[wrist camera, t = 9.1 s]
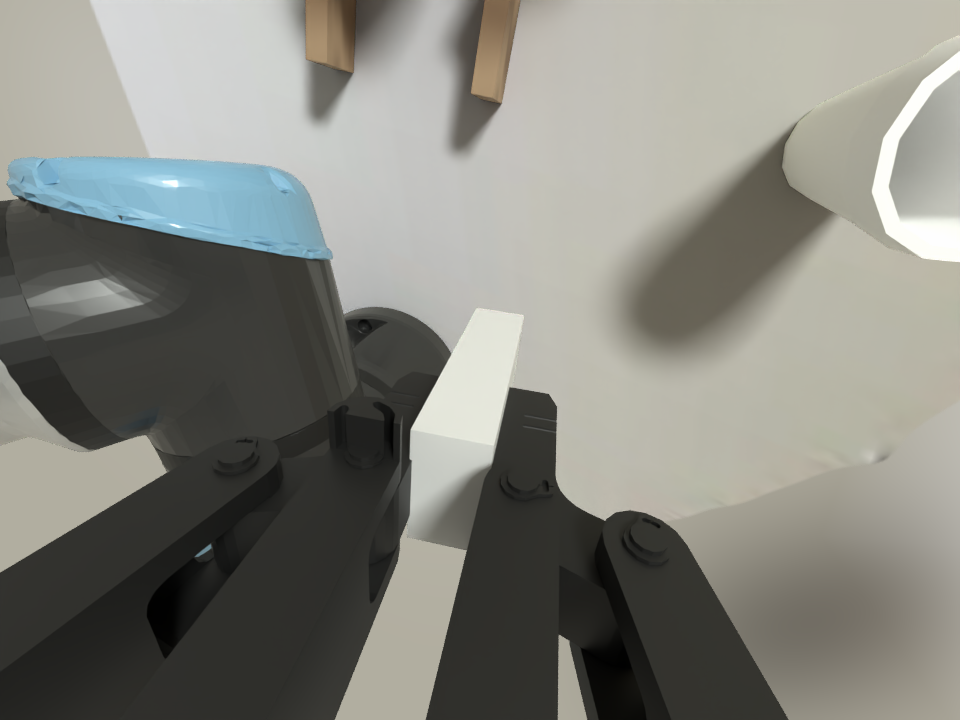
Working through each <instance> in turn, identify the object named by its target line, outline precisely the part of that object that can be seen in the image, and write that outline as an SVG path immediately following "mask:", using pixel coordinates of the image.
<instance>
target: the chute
mask: <svg viewBox="0 0 960 720" xmlns="http://www.w3.org/2000/svg"><path fill="white" fill-rule="evenodd" d="M519 6H520V0H485V2H484V9H483V15H482V22H481V29H480V35H479V42H478V49H477V55H476V62H475V69H474V75H473V82H472V88H471V94H473V95H475V96H476V97H478V98H480V99H482V100H486V101H491V102H496V103H501V104H502V99H503V94H504V88H505V83H506V77H507V72H508V66H509V61H510V55H511V50H512V44H513V39H514V33H515V28H516V22H517V17H518V11H519ZM355 20H356V0H306V59H307V60H310V61H312V62H315V63H318V64H321V65H324V66H327V67H330V68H333V69H337V70H341V71H346V72H351V73H353V72H354V46H355Z"/></svg>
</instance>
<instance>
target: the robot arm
mask: <svg viewBox="0 0 960 720" xmlns="http://www.w3.org/2000/svg"><path fill="white" fill-rule="evenodd" d="M8 173H9V177H10V178H9V180H8V181H7V185H8V187H9V188H10V190H11V191H12V193H13V195H15V196H17V197H18V198H19V199H16V200H8V201H0V445H3V444H7V443H10V442H13V441H16V440H20V439H23V438H27V437H32V438H37V439H40V440H43V441H47V442H49V443H52V444H56V445H59V446H62V447H65V448H68V449H71V450H74V451H79V452H90V451H93V450H97V449H100V448H103V447H106V446H109V445H112V444H115V443H118V442H121V441H124V440H127V439H130V438H134V437H137V436H142V435H146V436H147V437H148V438H149V439H150V441H151V443H152V445H153V446H154V448H155V450H156V451H157V453H158V455H159V457H160V459H161V461H162V464H163V465H164V467H165V469H166V471H167V473H166V474H164V475H163V476H161V477H159V478H158V479H156V480H154V481H153V482H151V483H149V484H147V485H146V486H144V487H142V488H141V489H139V490H137V491H136V492H134V493H132V494H131V495H129V496H127V497H126V498H124V499H122V500H121V501H119V502H117V503H116V504H114V505H112V506H111V507H109V508H107V509H106V510H104V511H102V512H101V513H99V514H98V515H96V516H94V517H92V518H91V519H89V520H87V521H86V522H84V523H83V524H81V525H79V526H77V527H76V528H74V529H72V530H71V531H69V532H67V533H66V534H64V535H62V536H61V537H59V538H57V539H56V540H54V541H53V542H51V543H49V544H47V545H46V546H44V547H42V548H41V549H39V550H37V551H36V552H34V553H32V554H31V555H29V556H27V557H26V558H24V559H22V560H21V561H19V562H17V563H16V564H14V565H12V566H11V567H9V568H7V569H6V570H4V571H2V572H1V573H0V720H335V717H336V715H337V712H338V710H339V707H340V705H341V702H342V700H343V697H344V695H345V692H346V690H347V687H348V685H349V682H350V680H351V677H352V674H353V672H354V670H355V667H356V665H357V662H358V659H359V657H360V655H361V652H362V650H363V647H364V645H365V642H366V640H367V637H368V635H369V632H370V629H371V627H372V625H373V622H374V620H375V617H376V614H377V612H378V609H379V607H380V604H381V602H382V599H383V597H384V594H385V591H386V589H387V587H388V584H389V582H390V579H391V577H392V574H393V571H394V569H395V567H396V564H397V562H398V557H399V550H400V537H401V535H402V533H403V530H404V528H405V526H406V523H407V521H408V524H407V537H409V538H414V539H418V540H422V541H427V542H432V543H436V544H441V545H445V546H449V547H454V548H458V549H463V550H467V552H466V556H465V560H464V564H463V569H462V573H461V577H460V582H459V585H458V589H457V593H456V597H455V602H454V606H453V610H452V614H451V618H450V622H449V627H448V630H447V635H446V639H445V643H444V647H443V651H442V655H441V659H440V663H439V667H438V672H437V676H436V680H435V684H434V688H433V692H432V696H431V701H430V705H429V709H428V713H427V717H426V720H558V716H557V715H558V636H559V635H561V636H563V637H564V638H566V639H568V640H569V641H570V648H571V652H572V657H573V661H574V665H575V669H576V673H577V678H578V682H579V686H580V690H581V695H582V699H583V703H584V707H585V711H586V715H587V720H788V718H787V717H786V714H785V713H784V711H783V709H782V708H781V706H780V704H779V702H778V701H777V699H776V697H775V696H774V694H773V692H772V690H771V689H770V687H769V685H768V684H767V682H766V680H765V678H764V677H763V675H762V673H761V672H760V670H759V668H758V666H757V665H756V663H755V661H754V660H753V658H752V656H751V655H750V653H749V651H748V649H747V648H746V646H745V644H744V642H743V641H742V639H741V637H740V635H739V634H738V632H737V630H736V629H735V627H734V625H733V623H732V622H731V620H730V618H729V617H728V615H727V613H726V612H725V610H724V608H723V606H722V605H721V603H720V601H719V600H718V598H717V596H716V594H715V592H714V591H713V589H712V587H711V586H710V584H709V582H708V580H707V579H706V577H705V575H704V574H703V572H702V570H701V568H700V567H699V565H698V563H697V562H696V560H695V558H694V557H693V555H692V553H691V551H690V549H689V548H688V546H687V545H686V543H685V542H684V541H683V539H682V538H681V537H680V536H679V535H678V533H677V532H676V531H675V530H674V529H672V528H671V527H670V526H668V525H667V524H666V523H664V522H663V521H662V520H660V519H657V518H655V517H653V516H651V515H648V514H646V513H641V512H636V511H623V512H616V513H615V514H613V515H612V516H610V517H609V518H607V519H606V521H604V520H602V519H600V518H598V517H596V516H593V515H591V514H589V513H587V512H585V511H583V510H582V509H580V508H578V507H576V506H575V505H574V504H573V503H571V502H570V501H569V500H568V499H567V498H566V497H565V496H564V495H563V493H562V492H561V491H560V489H559V487H558V484H557V482H556V476H555V470H556V425H557V422H556V420H557V406H556V405H555V403H554V401H553V400H552V398H551V397H550V395H549V394H545V393H539V392H534V391H528V390H523V389H517V388H513V383H514V377H515V371H516V365H517V358H518V352H519V346H520V340H521V333H522V327H523V321H524V315H520V314H513V313H507V312H501V311H494V310H488V309H482V308H477V309H476V310H475V312H474V314H473V316H472V318H471V320H470V321H469V323H468V325H467V327H466V329H465V331H464V332H463V334H462V336H461V338H460V340H459V342H458V343H457V345H456V347H455V349H454V351H453V353H452V354H451V353H450V351H449V349H448V348H447V346H446V345H445V343H444V342H443V341H442V340H441V338H440V337H439V336H438V335H437V334H436V333H435V332H434V331H433V330H432V329H430V328H429V327H428V326H427V325H425V324H424V323H423V322H421V321H419V320H418V319H416V318H414V317H412V316H410V315H408V314H406V313H403V312H400V311H397V310H394V309H389V308H382V307H368V308H361V309H357V310H354V311H351V312H349V313H346V314H345V315H344V314H343V310H342V306H341V302H340V298H339V294H338V290H337V286H336V282H335V279H334V275H333V271H332V267H331V263H330V259H333V255H332V252H331V250H330V249H329V248H327V246H326V243H325V240H324V237H323V234H322V231H321V227H320V224H319V221H318V218H317V215H316V212H315V209H314V205H313V202H312V199H311V197H310V195H309V193H308V191H307V189H306V188H305V186H304V185H303V184H302V183H301V182H300V181H299V180H298V179H297V178H296V177H294V176H293V175H291V174H290V173H288V172H286V171H284V170H281V169H278V168H275V167H270V166H264V165H256V164H246V163H233V162H220V161H204V160H185V159H163V158H134V157H69V158H50V159H43V158H37V157H29V158H20V159H16V160H14V161H12V162H11V163H10V164H9V165H8Z"/></svg>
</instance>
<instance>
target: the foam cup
mask: <svg viewBox="0 0 960 720" xmlns="http://www.w3.org/2000/svg"><path fill="white" fill-rule="evenodd" d="M782 169H783V171H784V174H785V176H786V179H787V181H788V184H789V186H791V187H792V188H794V189H795V190H797V191H798V192H800V193H801V194H803V195H804V196H806V197H807V198H809V199H811V200H812V201H814V202H816V203H818V204H820V205H821V206H823V207H825V208H827V209H829V210H830V211H832V212H834V213H836V214H838V215H839V216H841V217H843V218H845V219H847V220H848V221H850V222H852V223H854V224H855V226H857V227H858V228H860V229H861V230H863V231H864V232H866V233H867V234H869V235H870V236H872V237H873V238H874V239H876V240H877V241H879V242H880V243H882V244H883V245H885V246H886V247H888V248H890V249H893V250H896V251H900V252H903V253H906V254H910V255H913V256H916V257H919V258H923V259H933V260H943V261H953V262H960V35H959V36H957V37H954V38H952V39H949V40H946V41H944V42H941V43H939V44H937V45H936V46H935V47H933V48H932V49H931V50H930V51H929V52H927V53H926V54H925V55H924V56H922V57H919V58H917V59H915V60H913V61H911V62H909V63H906V64H904V65H902V66H900V67H898V68H895V69H893V70H891V71H889V72H887V73H885V74H882V75H880V76H878V77H876V78H874V79H871V80H869V81H867V82H865V83H863V84H861V85H858V86H856V87H854V88H852V89H850V90H847V91H845V92H843V93H841V94H839V95H837V96H834V97H832V98H830V99H828V100H826V101H824V102H822V103H820V104H818V105H817V106H816V107H815V108H814V109H813V110H811V111H810V112H809V113H808V114H807V115H806V116H804V117H803V118H802V119H801V120H800V121H799V122H798V123H797V125H796V126H795V128H794V130H793V131H792V133H791V135H790V137H789V138H788V140H787V142H786V144H785V147H784V155H783V162H782Z"/></svg>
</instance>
